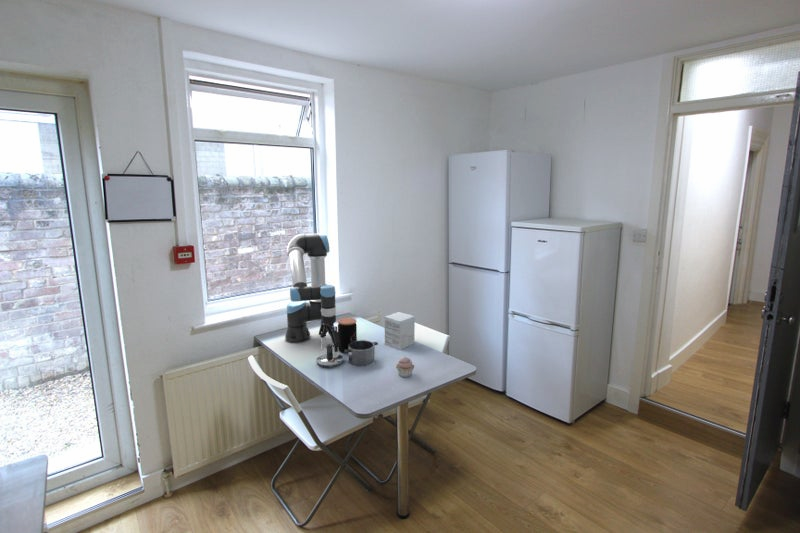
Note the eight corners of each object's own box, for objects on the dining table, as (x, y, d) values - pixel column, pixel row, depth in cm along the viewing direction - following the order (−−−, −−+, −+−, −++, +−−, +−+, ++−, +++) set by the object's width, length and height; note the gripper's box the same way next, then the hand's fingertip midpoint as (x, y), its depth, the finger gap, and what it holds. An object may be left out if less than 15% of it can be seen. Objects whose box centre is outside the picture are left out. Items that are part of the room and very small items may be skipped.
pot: (351, 370, 206) (351, 354, 204) (338, 361, 217) (338, 345, 215) (384, 360, 218) (384, 345, 216) (370, 352, 229) (370, 337, 227)
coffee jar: (353, 354, 225) (353, 324, 222) (335, 353, 228) (334, 322, 224) (359, 347, 236) (358, 318, 232) (342, 345, 238) (341, 316, 234)
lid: (312, 361, 216) (311, 344, 214) (335, 355, 225) (334, 338, 223) (323, 371, 206) (323, 353, 204) (347, 364, 214) (347, 346, 212)
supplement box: (398, 338, 251) (398, 311, 247) (414, 343, 242) (415, 316, 239) (383, 344, 241) (383, 316, 237) (400, 350, 232) (400, 321, 229)
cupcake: (405, 369, 208) (405, 351, 206) (418, 375, 202) (418, 356, 200) (391, 374, 202) (392, 356, 200) (404, 381, 195) (404, 362, 193)
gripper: (311, 310, 217) (313, 346, 221) (333, 322, 198) (334, 362, 202) (324, 307, 222) (325, 343, 226) (346, 319, 202) (347, 358, 206)
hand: (329, 352), depth 214 cm, fingers open, 13 cm apart
